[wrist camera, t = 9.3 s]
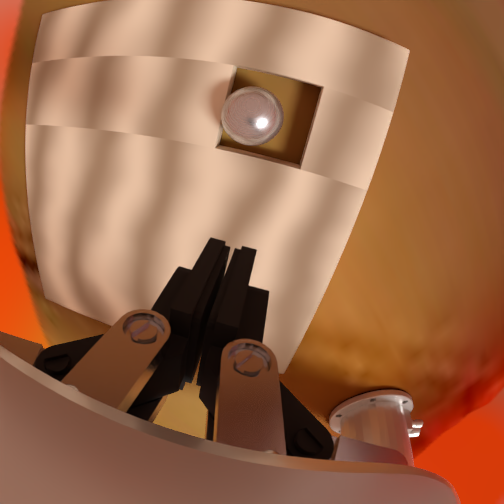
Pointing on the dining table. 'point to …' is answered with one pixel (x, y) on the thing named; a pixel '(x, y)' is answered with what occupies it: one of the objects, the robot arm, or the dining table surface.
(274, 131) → the steel ball
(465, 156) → the dining table surface
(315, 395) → the dining table surface
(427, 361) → the dining table surface
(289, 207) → the maple board
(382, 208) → the dining table surface
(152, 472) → the robot arm
